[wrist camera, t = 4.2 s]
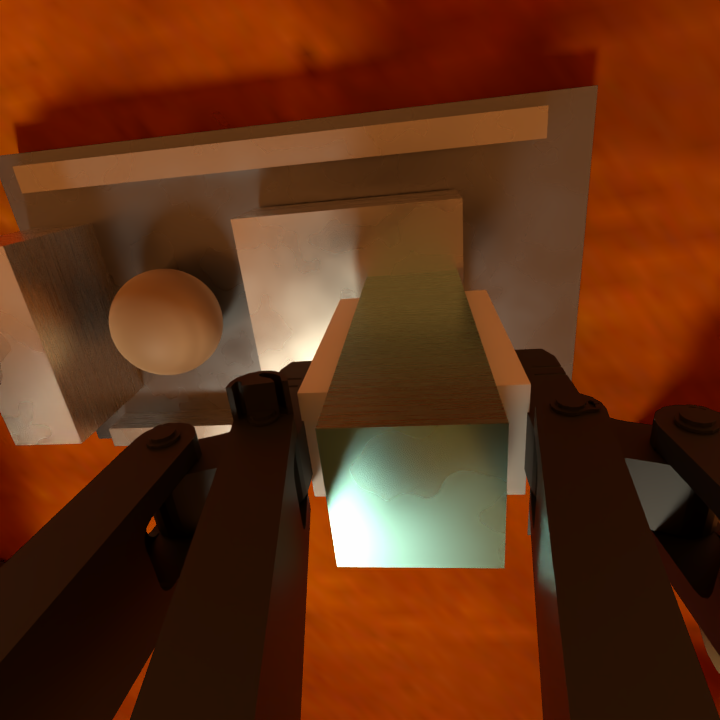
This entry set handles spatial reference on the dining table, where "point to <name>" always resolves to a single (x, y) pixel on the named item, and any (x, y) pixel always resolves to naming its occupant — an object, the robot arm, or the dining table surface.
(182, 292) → the walnut ball
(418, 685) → the dining table surface
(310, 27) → the dining table surface
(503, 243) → the tray
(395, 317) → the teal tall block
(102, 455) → the dining table surface
